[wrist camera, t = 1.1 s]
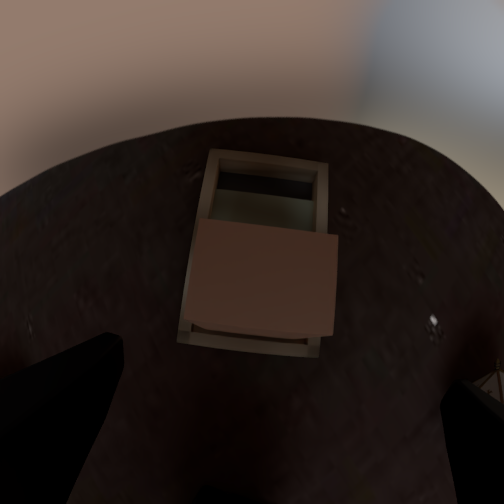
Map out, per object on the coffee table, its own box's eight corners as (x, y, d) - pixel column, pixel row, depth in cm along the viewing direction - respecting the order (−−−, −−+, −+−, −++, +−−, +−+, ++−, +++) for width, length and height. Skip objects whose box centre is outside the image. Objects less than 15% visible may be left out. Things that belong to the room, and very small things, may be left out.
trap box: (310, 356, 21) (318, 357, 19) (182, 342, 21) (176, 342, 19) (321, 177, 25) (328, 163, 23) (211, 163, 25) (210, 148, 23)
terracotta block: (292, 339, 20) (333, 335, 11) (206, 329, 20) (183, 319, 11) (297, 279, 21) (338, 235, 13) (214, 269, 21) (199, 217, 13)
